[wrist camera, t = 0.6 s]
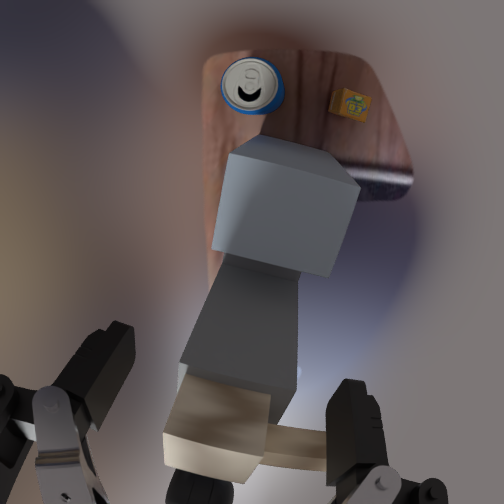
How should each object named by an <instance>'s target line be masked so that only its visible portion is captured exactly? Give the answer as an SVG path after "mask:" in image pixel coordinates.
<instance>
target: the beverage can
mask: <svg viewBox="0 0 504 504" xmlns="http://www.w3.org/2000/svg"><path fill="white" fill-rule="evenodd" d="M221 92H222V96H223V98H224V100H225V101H226V103H227V104H228V105H229V106H230V107H231V108H232V109H234V110H235V111H237V112H240V113H243V114H248V115H263V114H268V113H271V112H273V111H275V110H276V109H277V108H278V107H279V106H280V105H281V104H282V102H283V100H284V96H285V89H284V84H283V81H282V77H281V75H280V73H279V71H278V69H277V68H276V67H275V66H274V65H273V64H272V63H270V62H269V61H267V60H265V59H262V58H258V57H246V58H242V59H239V60H237V61H235V62H234V63H232V64H231V65H230V66H229V67H228V68H227V69H226V71H225V72H224V74H223V77H222V80H221Z"/></svg>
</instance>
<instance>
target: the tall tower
mask: <svg viewBox="0 0 504 504" xmlns="http://www.w3.org/2000/svg"><path fill="white" fill-rule="evenodd" d="M300 274H301V271H297V270H293V269H289V268H285V267H281V266H277V265H273V264H269V263H265V262H261V261H257V260H253V259H249V258H245V257H241V256H237V255H233V254H229V253H225V252H224V257H223V262H222V265H221V267H220V269H219V272H218V274H217V276H216V278H215V281H214V283H213V285H212V287H211V290H210V292H209V294H208V297H207V299H206V301H205V303H204V306H203V308H202V310H201V312H200V315H199V317H198V319H197V322H196V324H195V326H194V329H193V331H192V333H191V336H190V338H189V340H188V343H187V345H186V347H185V350H184V352H183V354H182V357H181V359H180V361H179V370H178V386H177V394H178V391H179V389H180V386H181V383H182V381H183V378H184V376H185V374H189V375H192V376H196V377H199V378H203V379H207V380H210V381H214V382H218V383H222V384H226V385H230V386H234V387H238V388H242V389H247V390H251V391H256V392H260V393H265V394H270V395H271V399H270V408H269V416H268V423H270V424H275V425H277V424H278V422H279V420H280V419H281V417H282V415H283V413H284V412H285V410H286V408H287V406H288V405H289V403H290V401H291V399H292V398H293V396H294V394H295V392H296V389H297V388H296V387H297V347H298V280H299V277H300Z"/></svg>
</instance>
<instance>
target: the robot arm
mask: <svg viewBox="0 0 504 504" xmlns="http://www.w3.org/2000/svg"><path fill="white" fill-rule="evenodd" d="M134 337H135V336H134V328H133V327H132V326H130V325H127V324H124V323H121V322H118V321H116V320H115V321H113V322H112V323H111V325H110V326H109V327H108V328H107V330H106V331H104V330H101V329H98V330H97V331H95V332H93V333H92V334H90V335H88V337H87V338H86V339H85V340H84V342H83V343H82V345H81V347H79V349H78V350H77V351H76V353H75V355H73V357H72V358H71V359H70V361H69V362H68V363H67V365H66V366H65V368H64V369H63V370H62V372H61V373H60V375H59V376H58V378H57V379H56V380H55V382H54V383H53V384H52V385H51V386H45V387H43V388H41V389H39V390H30V389H25V388H21V387H17V386H14V385H13V383H12V381H11V380H10V379H9V378H8V377H7V376H5V375H2V374H0V504H6V502H7V499H8V497H9V495H10V492H11V490H12V487H13V485H14V483H15V480H16V478H17V476H18V473H19V471H20V469H21V467H22V465H23V463H24V460H25V459H26V456H27V454H28V452H29V450H30V448H31V446H32V444H33V442H34V441H37V447H38V457H37V458H36V459H35V468H36V473H37V478H38V483H39V487H40V491H41V495H42V499H43V503H44V504H110V502H109V500H108V497H107V495H106V492H105V490H104V488H103V486H102V484H101V481H100V479H99V476H98V473H97V470H96V467H95V464H94V460H93V457H92V453H91V450H90V446H89V442H88V439H87V435H86V433H87V431H88V429H89V428H91V429H93V430H95V431H97V432H98V431H99V429H100V427H101V425H102V422H103V421H104V419H105V417H106V415H107V413H108V411H109V409H110V408H111V406H112V404H113V402H114V400H115V398H116V396H117V394H118V392H119V391H120V389H121V387H122V385H123V383H124V381H125V379H126V378H127V376H128V374H129V372H130V370H131V369H132V366H133V364H134V361H135V355H136V354H135V353H136V352H135V338H134ZM382 428H383V424H382V420H381V413H380V407H379V405H378V403H377V402H376V400H375V398H374V397H373V396H372V395H367V390H366V385H365V382H364V381H359V380H353V379H344V380H343V381H342V383H341V384H340V386H339V387H338V389H337V390H336V392H335V393H334V394H333V396H332V397H331V399H330V400H329V402H328V404H327V408H326V472H327V473H326V486H336V495H335V496H334V497H333V498H332V499H331V501H330V502H329V503H328V504H448V495H447V489H446V486H445V485H444V484H443V482H442V481H440V480H439V479H436V478H429V479H427V480H425V481H424V482H422V483H417V482H413V481H409V480H405V479H402V478H400V476H399V474H398V472H397V471H396V470H395V469H393V468H391V467H389V464H388V458H387V451H386V444H385V438H384V431H383V429H382ZM233 497H234V488H233V484H232V483H231V482H230V481H225V480H220V479H216V478H211V477H207V476H203V475H199V474H195V473H192V472H188V471H184V470H181V469H178V468H176V470H175V472H174V474H173V477H172V479H171V482H170V485H169V488H168V491H167V494H166V500H165V503H166V504H232V503H233Z"/></svg>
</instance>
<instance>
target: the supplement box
mask: <svg viewBox="0 0 504 504" xmlns="http://www.w3.org/2000/svg"><path fill="white" fill-rule="evenodd" d="M371 100H372V98H371V97H368V96H365V95H362V94H359V93H357V92H354V91H351V90H349V89H346V88H342V89H339V90H335V91H333V92H332V96H331V100H330V104H329V109H328V112H330V113H333V114H336V115H339V116H343V117H346V118H350V119H353V120H357V121H360V122H363V123H365V121H366V117H367V114H368V110H369V107H370V103H371Z"/></svg>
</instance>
